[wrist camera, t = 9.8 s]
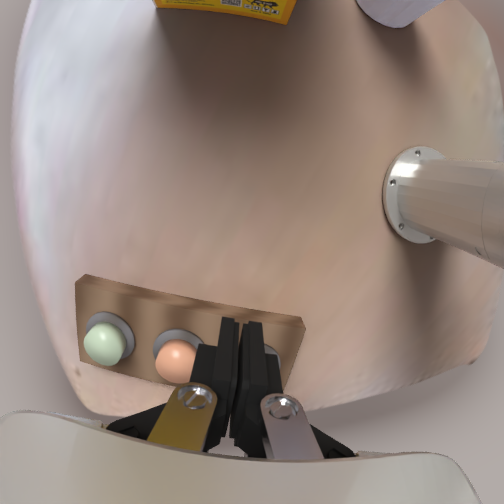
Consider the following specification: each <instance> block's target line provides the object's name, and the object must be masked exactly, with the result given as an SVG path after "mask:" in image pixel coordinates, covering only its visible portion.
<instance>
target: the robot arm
mask: <svg viewBox="0 0 504 504" xmlns="http://www.w3.org/2000/svg"><path fill="white" fill-rule="evenodd" d="M390 181H391V184H390ZM383 204H384V209H385V213H386V216H387V218H388V221H389V223H390V224H391V226H392V228H393V229H394V230H395V231H396V232H397V233H398V234H399V235H400V236H401V237H403V238H404V239H406V240H408V241H410V242H414V243H419V244H424V243H429V242H432V241H434V240H436V239H438V240H440V241H442V242H445V243H447V244H450V245H452V246H454V247H457V248H459V249H461V250H463V251H466V252H468V253H470V254H472V255H475V256H477V257H479V258H481V259H483V260H485V261H488V262H490V263H492V264H494V265H496V266H498V267H501V268H503V269H504V162H499V161H484V160H464V159H446V158H445V157H444V156H443V155H442V154H441V153H440V152H438V151H436V150H435V149H432V148H430V147H423V146H418V147H412V148H408V149H406V150H405V151H403V152H401V153H400V154H399V155H398V156H397V157H396V158H395V159H394V160H393V162H392V163H391V165H390V167H389V169H388V171H387V173H386V177H385V180H384V186H383ZM229 418H230V433H229V437H230V438H234V446H237V447H239V448H240V449H242V450H243V451H244V452H245V453H244V457H238V456H228V455H220V454H213V453H208V452H209V449H211V448H213V447H215V446H217V445H218V444H219V443H220V439H221V437H225V435H226V431H227V426H228V422H229ZM0 504H482V502H481V500H480V498H479V497H478V495H477V493H476V491H475V489H474V487H473V485H472V484H471V482H470V480H469V479H468V477H467V476H466V474H465V473H464V471H463V470H462V469H461V467H460V466H459V465H458V464H457V463H456V462H455V461H454V460H453V459H451V458H449V457H448V456H444V455H441V454H437V453H429V452H401V453H378V452H365V451H358V452H357V453H353V451H352V450H350V449H349V448H348V447H346V446H344V445H343V444H341V443H339V442H338V441H336V440H334V439H333V438H331V437H330V436H328V435H326V434H325V433H323V432H321V431H320V430H318V429H317V428H315V427H313V426H312V425H311V424H309V422H308V419H307V417H306V415H305V412H304V410H303V407H302V406H301V404H300V403H299V402H298V401H297V400H296V399H295V398H293V397H291V396H289V395H286V394H283V388H282V382H281V375H280V369H279V362H278V357H277V355H276V354H268V353H265V347H264V337H263V327H262V322H255V321H249V322H248V324H245V323H243V327H242V332H241V337H240V342H239V322H235V318H229V317H223V316H222V319H221V326H220V332H219V338H218V345H217V346H213V345H207V344H201V343H199V344H198V348H197V352H196V356H195V360H194V364H193V368H192V372H191V376H190V380H189V382H187V383H183V384H181V385H179V386H177V387H176V388H175V389H174V391H173V393H172V394H171V396H170V398H169V400H168V402H167V403H164V404H162V405H159V406H156V407H154V408H151V409H148V410H146V411H143V412H140V413H137V414H134V415H131V416H128V417H125V418H122V419H119V420H116V421H115V422H112V423H111V424H109V425H107V424H103V423H102V421H99V420H92V419H86V418H80V417H74V416H69V415H64V414H59V413H55V412H41V411H31V410H19V411H13V412H10V413H8V414H5V415H4V416H2V417H1V418H0Z"/></svg>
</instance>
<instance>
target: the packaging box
mask: <svg viewBox="0 0 504 504" xmlns="http://www.w3.org/2000/svg"><path fill="white" fill-rule="evenodd" d="M152 1H153V3H154V5H155V7H156V8H179V9H194V10H205V11H214V12H222V13H229V14H235V15H242V16H247V17H253V18H258V19H263V20H267V21H272V22H276V23H280V24H284V25H287V23H288V20H289V18H290V16H291V13H292V11H293V8H294V6H295V4H296V1H297V0H152Z"/></svg>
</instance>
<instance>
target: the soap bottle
mask: <svg viewBox="0 0 504 504" xmlns="http://www.w3.org/2000/svg"><path fill="white" fill-rule="evenodd" d="M443 1H445V0H357V3H358V5H359V6H360V7H361V8H362V9H363V11H364V12H365V13H366V14H367V15H369V16H370V17H371V18H372V19H374V20H375V21H377V22H379V23H381V24H383V25H385V26H389V27H392V28H402V27H405V26H407V25H408V24H410V23H411V22H413V21H414V20H416V19H417V18H419V17H420V16H422V15H423V14H425V13H426V12H428V11H429V10H431V9H432V8H434V7H435V6H437V5H439V4H440V3H442V2H443Z"/></svg>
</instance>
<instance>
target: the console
mask: <svg viewBox="0 0 504 504" xmlns="http://www.w3.org/2000/svg"><path fill="white" fill-rule="evenodd" d="M75 301H76V322H77V335H78V346H79V355H80V361H82V362H85V363H88V364H91V365H94V366H97V367H101V368H104V369H107V370H111V371H114V372H118V373H121V374H125V375H129V376H132V377H136V378H140V379H144V380H148V381H153V382H157V383H162V384H166V385H171V386H176V387H177V386H179V385H181V384H183V383H181V384H179V383H173V382H170V381H167V380H166V379H164V378H163V377H162V376H161V375H160V374H159V373H158V371H157V369H156V366H155V362H156V359H157V356H158V353H159V350H160V348H161V346H162V344H163V343H165V342H166V341H168V340H171V339H181V340H185V341H187V342H189V343H191V344H192V345H193V346H194V347H195V348H196V349H197V348H198V344H199V343H201V344H207V345H213V346H217V345H218V338H219V332H220V326H221V319H222V316H223V317H229V318H235V322H239V342H240V337H241V332H242V327H243V323H245V324H248V322H249V321H255V322H262V327H263V337H264V347H265V353H268V354H276V355H277V357H278V362H279V369H280V375H281V382H282V388H283V390H284V388H285V385H286V382H287V380H288V377H289V375H290V372H291V369H292V367H293V364H294V361H295V358H296V356H297V353H298V350H299V347H300V345H301V342H302V339H303V336H304V333H305V330H306V328H305V325H304V323H303V321H302V319H301V317H297V316H291V315H284V314H277V313H271V312H265V311H259V310H253V309H247V308H241V307H235V306H230V305H224V304H219V303H214V302H208V301H203V300H198V299H193V298H188V297H183V296H178V295H173V294H169V293H164V292H159V291H155V290H150V289H146V288H141V287H137V286H132V285H128V284H124V283H120V282H115V281H111V280H107V279H103V278H99V277H95V276H91V275H87V274H85V275H84V276H82V277H81V278H80V279H79V280H77V281H76V282H75ZM103 321H104V322H109V323H112V324H114V325H115V326H117V327H118V328H119V329H120V330H121V331H122V332H123V334H124V336H125V338H126V348H125V350H124V352H123V354H122V356H121V358H120V360H119V361H118V362H117V363H116V364H115V365H112V366H105V365H101V364H99V363H97V362H95V361H94V360H93V359H92V358H91V357H90V356H89V355H88V354H87V352H86V350H85V347H84V338H85V336H86V335H87V334H88V332H89V331H90V330H91V328H92V327H93V326H94V325H95V324H96V323H98V322H103Z"/></svg>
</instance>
